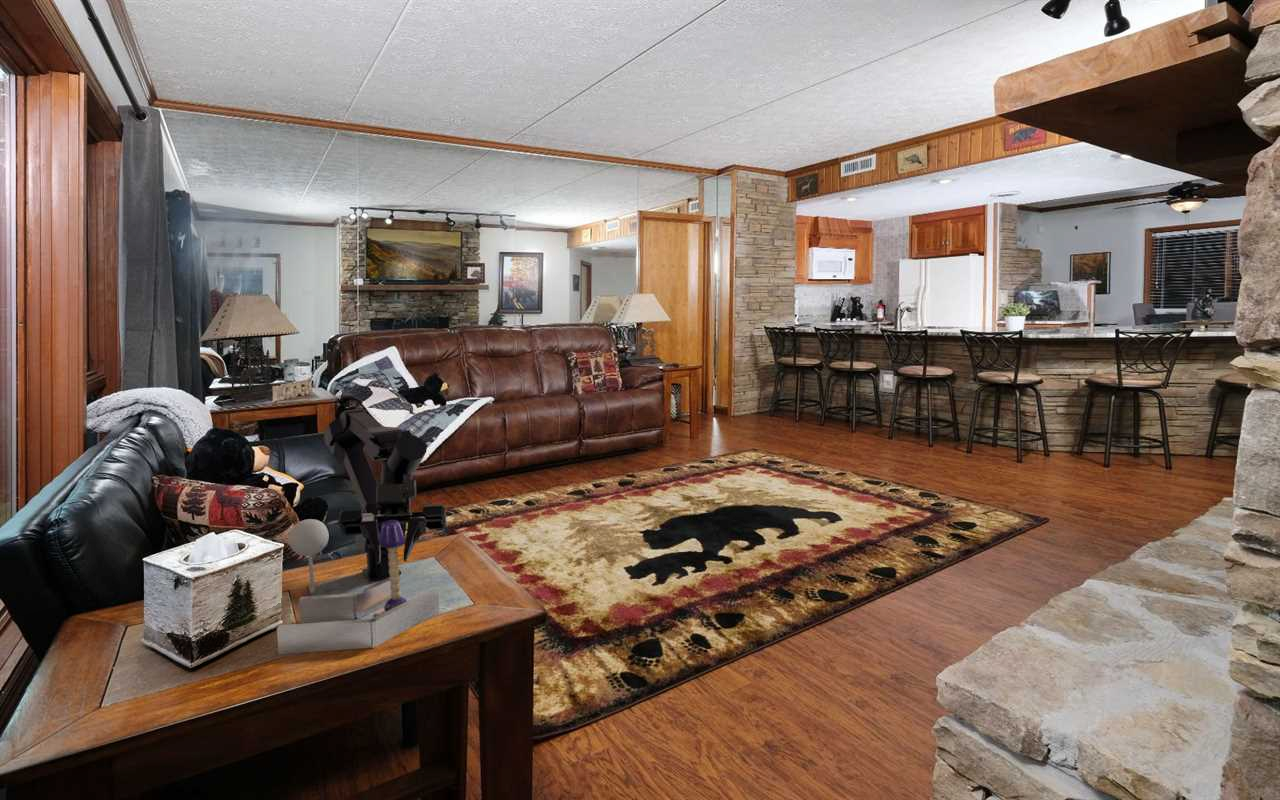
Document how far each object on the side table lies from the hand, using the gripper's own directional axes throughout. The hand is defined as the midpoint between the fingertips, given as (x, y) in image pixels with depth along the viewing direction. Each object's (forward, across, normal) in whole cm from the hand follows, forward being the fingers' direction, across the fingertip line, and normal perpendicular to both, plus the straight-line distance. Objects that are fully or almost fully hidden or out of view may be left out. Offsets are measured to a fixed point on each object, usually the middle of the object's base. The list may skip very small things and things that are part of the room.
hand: (391, 561), depth 124 cm
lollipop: (-3, -17, +19) cm, 25 cm away
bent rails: (+9, -5, +6) cm, 12 cm away
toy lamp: (+6, 0, +8) cm, 10 cm away
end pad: (+6, +1, +9) cm, 11 cm away
